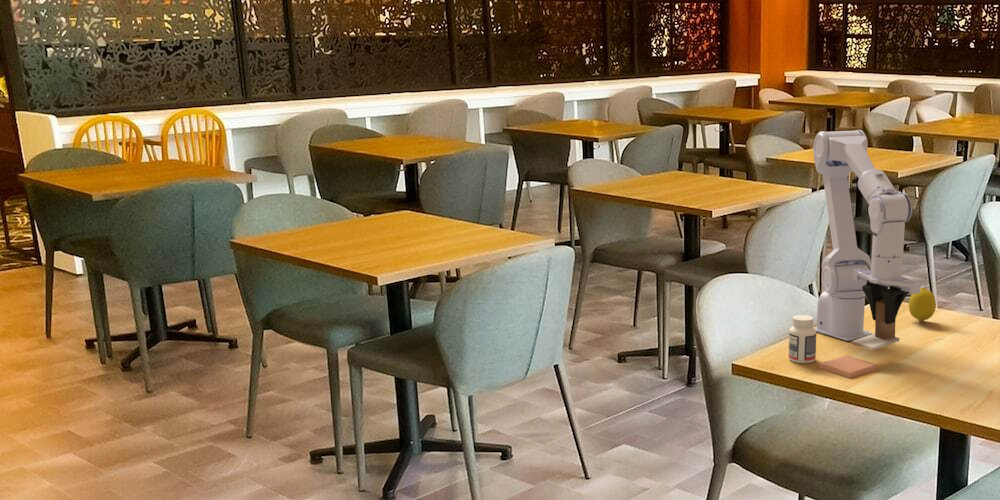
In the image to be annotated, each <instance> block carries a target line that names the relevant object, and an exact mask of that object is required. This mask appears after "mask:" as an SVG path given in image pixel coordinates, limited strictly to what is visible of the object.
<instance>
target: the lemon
mask: <svg viewBox="0 0 1000 500" xmlns="http://www.w3.org/2000/svg"><path fill="white" fill-rule="evenodd" d="M910 295H911V296H910V297H909V301H908V310H909V313H910V315H911V316H912V317H913V318H914V319H916V320H917V321H918V322H919V323H924V321H925V320H928V319H931V317H933V316H934V314H935V311H936V308H937V307H936V305H937V304H936V303H937V301H936V298H935V296H934V294H933V292H932V291H930V290H928V289H927V288H925V287H921V288H920V293H917V294H910Z"/></svg>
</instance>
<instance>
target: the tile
mask: <svg viewBox="0 0 1000 500" xmlns="http://www.w3.org/2000/svg"><path fill="white" fill-rule="evenodd" d="M821 368H822V369H821ZM820 369H821V370H824V369H825V370H824V371H827V372H830V371H831V372H830V373H833V372H834V373H833V374H836V375H839V376H842V377H845V378H848V379H851V378H854V377H857V376H860V375H863V374H864V375H865V374H867V373H870V371H871V372H874V371H876V370H878V364H876V363H874V362H870V361H867V360H864V359H861V358H858V357H856V356H851V355H849V354H846V355H844V356H840V357H837V358H833V359H829V360H826V361H823V362H821V363H820ZM873 370H874V371H873Z"/></svg>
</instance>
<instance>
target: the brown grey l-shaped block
mask: <svg viewBox="0 0 1000 500" xmlns="http://www.w3.org/2000/svg"><path fill="white" fill-rule="evenodd" d="M884 317H885V305H884V299H882V300H879V301H876V321H875V320H874V321H875V323H874V329H875V331H874V333H872V334H871V335H868V336H865V337H861V338H858V339H854V340H851V344H852V345H854V346H857V347H860V348H863V349H866V350H870V351H875V350H878V349H880V348H883V347H886V346H889V345H892V344H895V343H898V342H900V337H896V319H897V318H896V319H895V322H894V323H891V324H886V323H885V319H884Z"/></svg>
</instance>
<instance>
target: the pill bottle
mask: <svg viewBox="0 0 1000 500" xmlns="http://www.w3.org/2000/svg"><path fill="white" fill-rule="evenodd" d="M791 323H792V326H791V327H790V328H789V332H788V359H789V361H790V362H794V363H795V364H810V363H813V362H815V361H816V360H817V359H816V356H817V332H816V329H815V328H816V327H814V317H813V316H811V315H806V314H796V315H794V316H792V322H791Z"/></svg>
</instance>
